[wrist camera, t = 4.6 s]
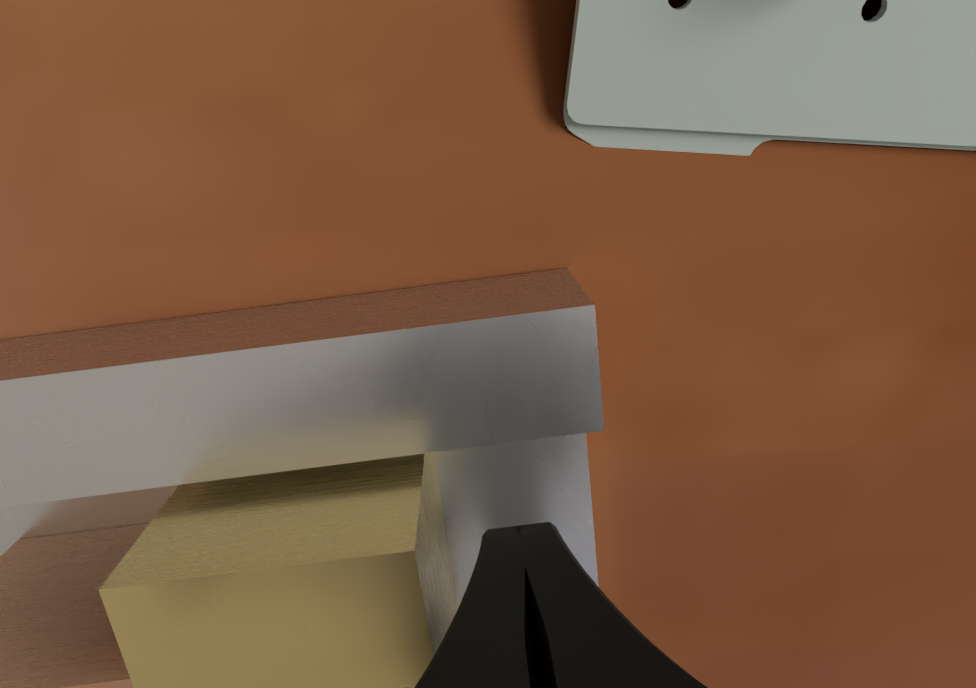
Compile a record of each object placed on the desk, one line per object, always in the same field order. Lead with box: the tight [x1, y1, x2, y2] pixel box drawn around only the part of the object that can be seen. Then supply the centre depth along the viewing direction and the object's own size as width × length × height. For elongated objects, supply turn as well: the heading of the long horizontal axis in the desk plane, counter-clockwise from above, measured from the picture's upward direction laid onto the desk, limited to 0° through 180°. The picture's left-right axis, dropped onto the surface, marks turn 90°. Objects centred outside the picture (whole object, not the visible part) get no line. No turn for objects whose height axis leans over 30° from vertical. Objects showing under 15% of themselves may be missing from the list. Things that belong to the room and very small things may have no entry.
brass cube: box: [99, 452, 457, 688], centre depth 11 cm, size 4×4×4 cm
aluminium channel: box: [0, 268, 604, 610], centre depth 12 cm, size 10×12×3 cm
